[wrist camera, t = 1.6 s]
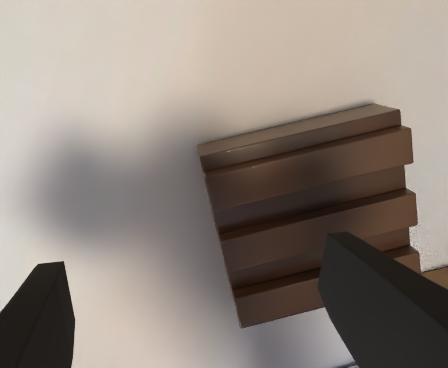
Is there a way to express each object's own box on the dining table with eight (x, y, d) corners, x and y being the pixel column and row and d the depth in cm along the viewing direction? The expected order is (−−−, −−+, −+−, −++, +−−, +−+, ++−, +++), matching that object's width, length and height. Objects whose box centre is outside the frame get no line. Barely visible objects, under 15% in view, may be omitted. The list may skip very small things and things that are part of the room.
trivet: (233, 301, 22) (243, 339, 19) (196, 145, 20) (200, 161, 17) (389, 262, 23) (422, 293, 20) (375, 103, 20) (410, 111, 17)
